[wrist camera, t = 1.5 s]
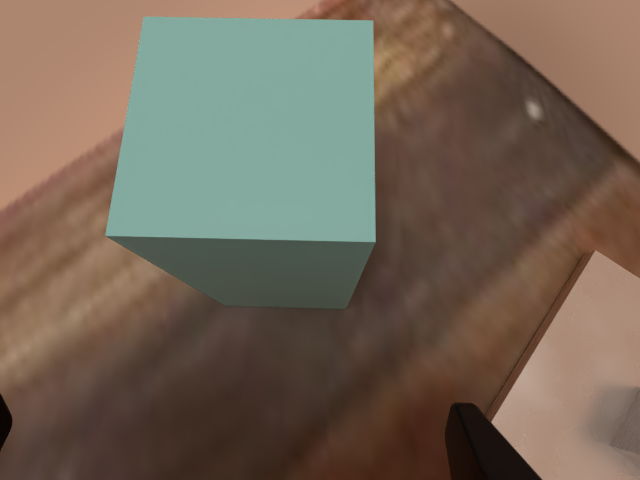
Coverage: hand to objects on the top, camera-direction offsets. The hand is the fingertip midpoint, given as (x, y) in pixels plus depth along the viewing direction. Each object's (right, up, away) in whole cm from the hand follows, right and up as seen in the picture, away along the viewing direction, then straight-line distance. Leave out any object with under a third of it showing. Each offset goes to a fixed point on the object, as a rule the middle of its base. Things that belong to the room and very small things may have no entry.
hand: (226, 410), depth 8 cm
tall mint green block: (0, +3, +13) cm, 14 cm away
